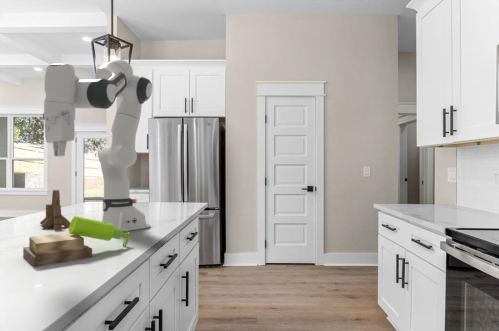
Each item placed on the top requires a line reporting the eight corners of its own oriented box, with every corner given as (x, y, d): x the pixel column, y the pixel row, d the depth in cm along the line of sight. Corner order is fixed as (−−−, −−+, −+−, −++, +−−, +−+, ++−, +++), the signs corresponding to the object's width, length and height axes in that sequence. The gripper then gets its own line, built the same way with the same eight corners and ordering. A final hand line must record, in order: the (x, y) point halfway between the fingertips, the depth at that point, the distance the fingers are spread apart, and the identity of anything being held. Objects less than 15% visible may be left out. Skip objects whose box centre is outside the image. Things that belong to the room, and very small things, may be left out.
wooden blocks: (73, 229, 158) (73, 191, 158) (42, 232, 151) (42, 192, 151) (66, 222, 178) (67, 188, 178) (39, 224, 171) (39, 189, 171)
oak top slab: (73, 242, 119) (73, 232, 119) (83, 249, 109) (83, 238, 109) (29, 247, 110) (29, 236, 110) (36, 255, 100) (36, 243, 100)
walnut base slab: (76, 250, 121) (76, 240, 121) (92, 259, 110) (92, 248, 110) (23, 258, 110) (23, 247, 110) (34, 269, 99) (34, 257, 99)
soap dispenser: (70, 238, 110) (128, 248, 122) (78, 217, 111) (134, 229, 124) (66, 235, 114) (122, 245, 127) (73, 214, 116) (128, 227, 128)
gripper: (80, 110, 105) (79, 155, 105) (62, 117, 120) (61, 157, 120) (57, 108, 100) (56, 155, 100) (41, 115, 115) (40, 156, 115)
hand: (59, 156), depth 110 cm, fingers open, 3 cm apart
